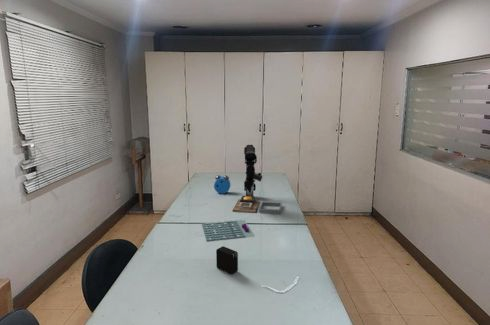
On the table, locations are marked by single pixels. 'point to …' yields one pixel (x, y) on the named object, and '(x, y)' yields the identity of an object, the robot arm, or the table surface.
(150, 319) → the table surface
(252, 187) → the cylinder
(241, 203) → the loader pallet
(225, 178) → the alarm clock
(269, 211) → the gray square frame
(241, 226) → the calendar
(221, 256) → the electronic device
